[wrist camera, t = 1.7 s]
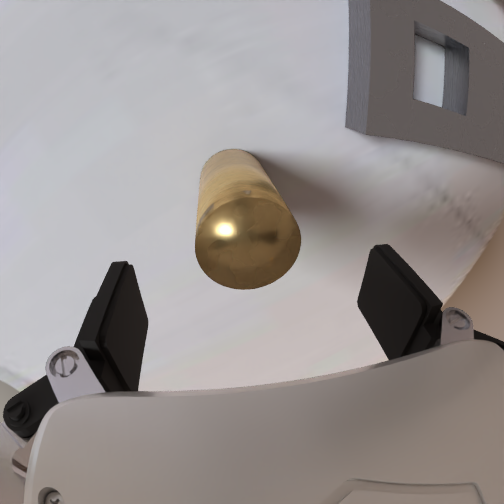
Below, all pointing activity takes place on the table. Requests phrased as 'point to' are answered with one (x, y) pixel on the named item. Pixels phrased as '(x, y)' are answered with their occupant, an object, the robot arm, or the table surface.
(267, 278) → the cylinder
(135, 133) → the table surface
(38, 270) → the table surface
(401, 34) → the block
